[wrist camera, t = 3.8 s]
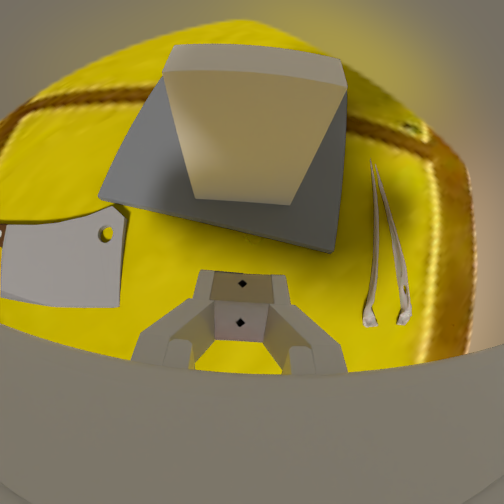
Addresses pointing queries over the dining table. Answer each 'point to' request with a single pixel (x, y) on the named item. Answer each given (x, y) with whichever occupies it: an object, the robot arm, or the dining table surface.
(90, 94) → the dining table surface
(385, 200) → the tweezers
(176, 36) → the dining table surface
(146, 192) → the mat
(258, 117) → the tile
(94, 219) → the kitchen cleaver
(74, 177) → the dining table surface
